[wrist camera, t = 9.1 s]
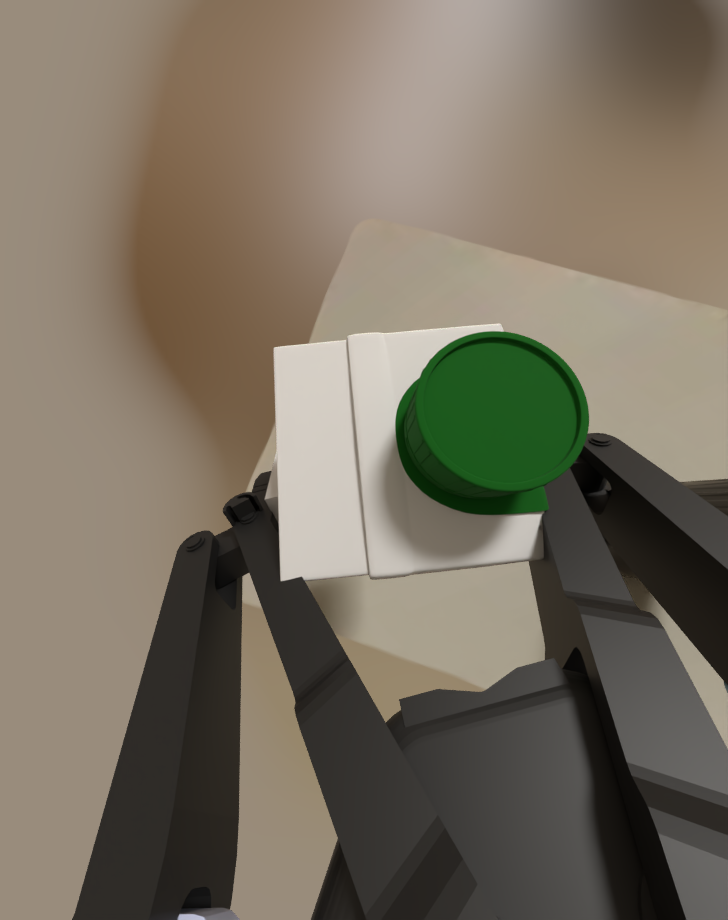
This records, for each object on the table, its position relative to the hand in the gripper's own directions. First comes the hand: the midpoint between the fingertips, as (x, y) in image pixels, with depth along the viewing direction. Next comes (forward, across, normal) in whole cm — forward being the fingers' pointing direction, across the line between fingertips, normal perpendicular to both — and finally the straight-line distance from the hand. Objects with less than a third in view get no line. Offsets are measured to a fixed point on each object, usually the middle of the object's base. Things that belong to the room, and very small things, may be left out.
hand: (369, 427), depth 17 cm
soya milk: (+5, 0, -9) cm, 11 cm away
